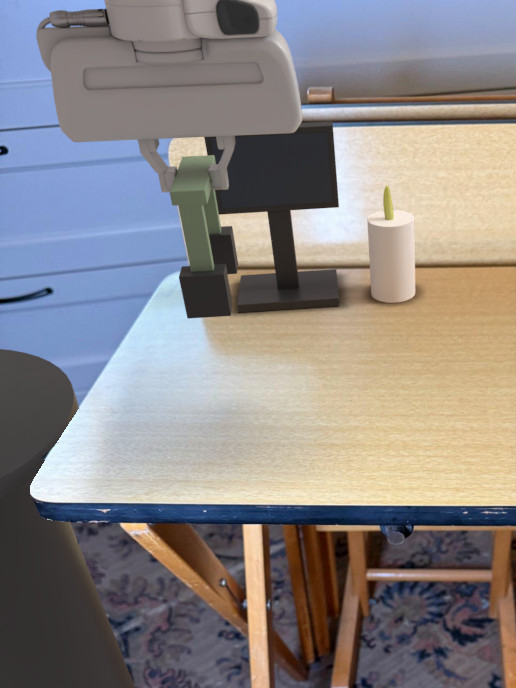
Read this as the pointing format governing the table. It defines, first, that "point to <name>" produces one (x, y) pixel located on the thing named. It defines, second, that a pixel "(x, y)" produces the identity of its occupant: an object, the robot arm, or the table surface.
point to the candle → (391, 253)
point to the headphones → (203, 241)
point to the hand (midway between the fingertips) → (196, 189)
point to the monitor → (282, 209)
